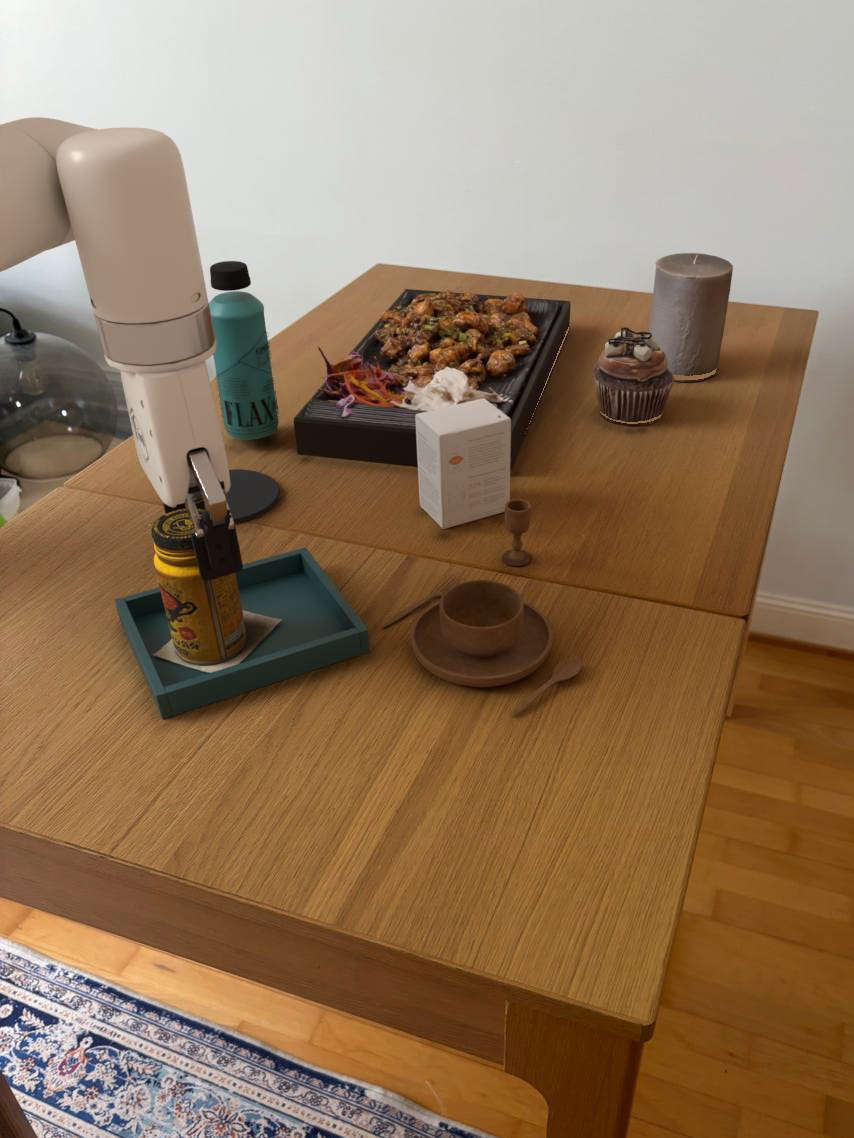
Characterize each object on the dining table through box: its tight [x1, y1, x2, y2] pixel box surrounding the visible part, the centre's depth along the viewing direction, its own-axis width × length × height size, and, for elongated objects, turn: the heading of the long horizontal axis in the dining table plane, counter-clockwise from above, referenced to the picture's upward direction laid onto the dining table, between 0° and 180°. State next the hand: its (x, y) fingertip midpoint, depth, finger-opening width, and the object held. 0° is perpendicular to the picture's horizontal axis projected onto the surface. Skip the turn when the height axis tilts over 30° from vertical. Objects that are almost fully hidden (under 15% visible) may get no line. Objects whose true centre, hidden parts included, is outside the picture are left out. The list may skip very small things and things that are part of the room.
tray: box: [114, 547, 371, 720], centre depth 84 cm, size 18×15×2 cm
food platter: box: [292, 288, 572, 473], centre depth 124 cm, size 45×25×10 cm, turn 167°
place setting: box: [380, 498, 583, 717], centre depth 84 cm, size 18×20×6 cm
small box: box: [415, 398, 511, 530], centre depth 98 cm, size 8×6×10 cm
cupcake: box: [593, 326, 675, 427], centre depth 117 cm, size 10×10×10 cm
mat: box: [225, 468, 280, 525], centre depth 103 cm, size 11×11×1 cm
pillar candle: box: [648, 252, 734, 383], centre depth 127 cm, size 10×10×15 cm
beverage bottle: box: [208, 260, 281, 441], centre depth 108 cm, size 6×7×20 cm
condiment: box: [150, 508, 282, 673], centre depth 80 cm, size 7×8×12 cm
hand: (204, 544), depth 77 cm, fingers open, 9 cm apart
